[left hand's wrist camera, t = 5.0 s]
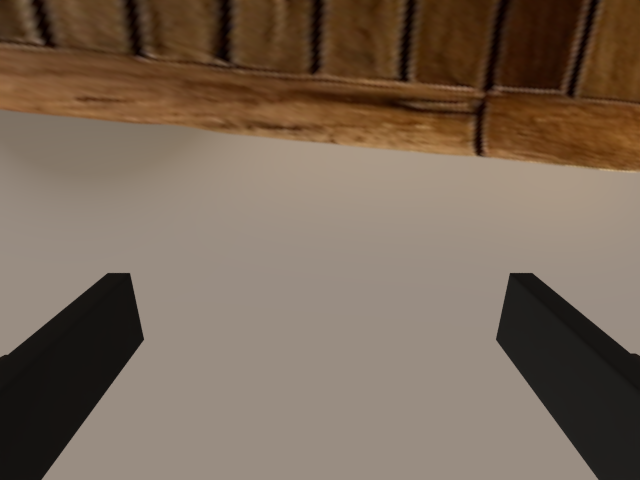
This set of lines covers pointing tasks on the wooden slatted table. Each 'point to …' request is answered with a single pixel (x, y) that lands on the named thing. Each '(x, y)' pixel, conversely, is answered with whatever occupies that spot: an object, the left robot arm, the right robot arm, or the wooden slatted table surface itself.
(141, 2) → the wooden slatted table surface
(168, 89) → the wooden slatted table surface
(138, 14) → the wooden slatted table surface
